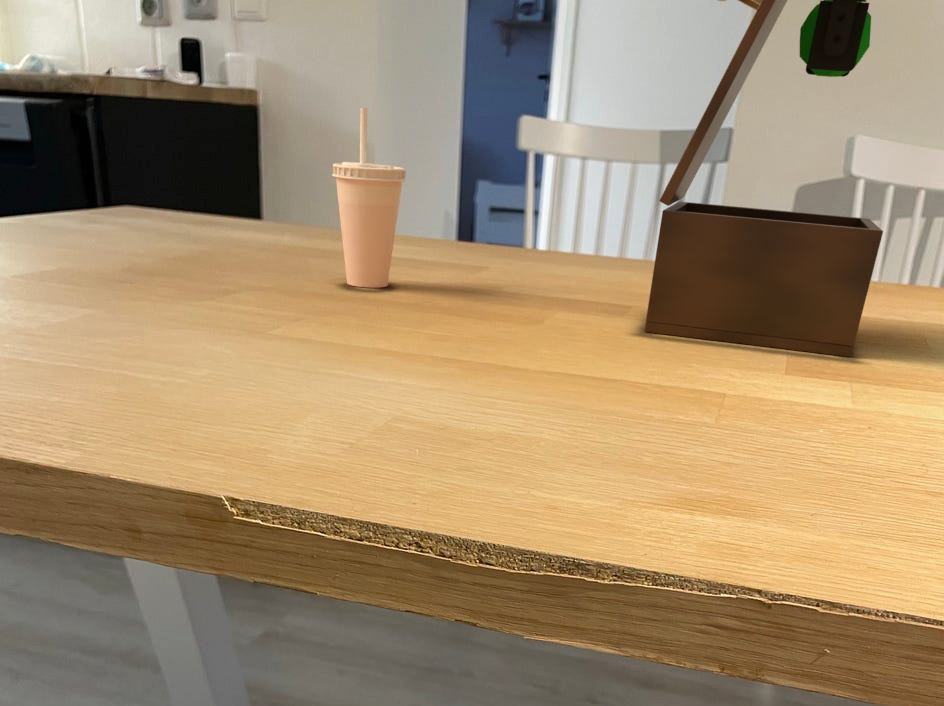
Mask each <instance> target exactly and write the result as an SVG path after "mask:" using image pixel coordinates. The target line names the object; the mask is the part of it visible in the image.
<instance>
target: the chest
mask: <svg viewBox="0 0 944 706" xmlns="http://www.w3.org/2000/svg"><path fill="white" fill-rule="evenodd" d="M661 212H662V213H661V220H660V226H659V231H658V238H657V247H656V253H655V258H654V265H653V270H652V271H653V272H652V278H651V285H650V291H649V297H648V304H647V311H646V317H645V325H644V333H649V334H650V333H651V334H658V335H667V336H675V337H684V338H692V339H700V340H707V341H715V342H724V343H733V344H742V345H749V346H758V347H766V348H773V349H782V350H791V351H798V352H807V353H815V354H823V355H831V356H840V357H848V358H850V357H852V353H853V350H854V346H855V342H856V338H857V334H858V331H859V327H860V323H861V319H862V316H863V311H864V307H865V304H866V300H867V296H868V292H869V288H870V284H871V281H872V276H873V272H874V268H875V265H876V261H877V257H878V252H879V250H880V245H881V241H882V238H883V233H884V230H882V229H881V228H880V227H879V226H878V225H877V224H876V223H874V221H872V220H871V218H867V217H856V216H855V217H854V216H844V215H835V214H834V215H833V214H822V213H813V212H812V213H810V212H801V211H788V210H780V209H779V210H778V209H769V208H768V209H766V208H756V207H745V206H733V205H723V204H711V203H703V202H702V203H701V202H689V201H680V200H678V201H676V202H675V203H673V204H671V205H669V206H667V208H665V209H663V210H662V211H661Z"/></svg>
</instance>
